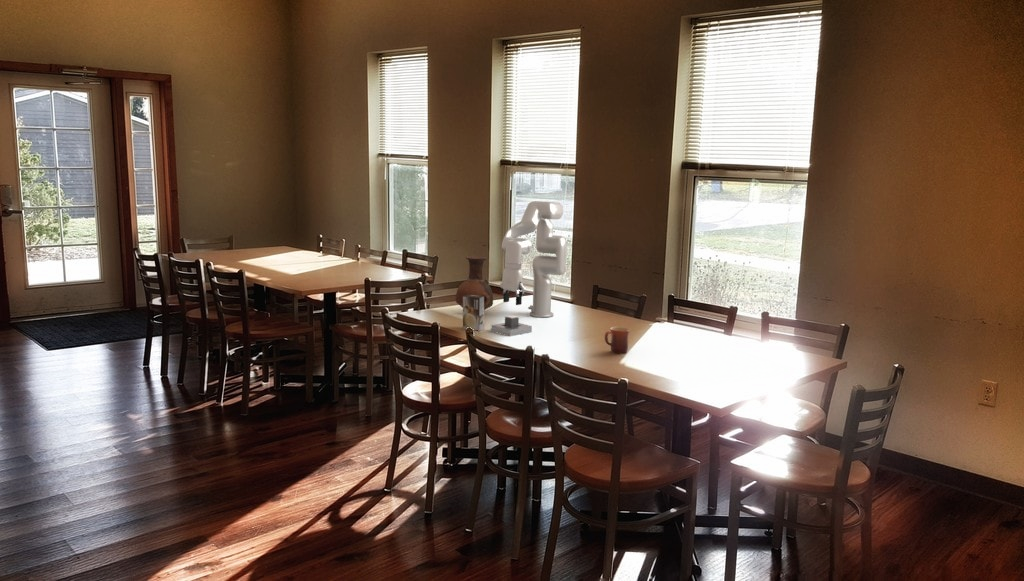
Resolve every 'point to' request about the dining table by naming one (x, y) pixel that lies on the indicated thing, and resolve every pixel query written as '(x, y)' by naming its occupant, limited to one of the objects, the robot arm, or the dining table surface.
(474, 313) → the coffee box
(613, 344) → the mug
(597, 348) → the dining table surface
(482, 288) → the vase
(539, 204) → the robot arm
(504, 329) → the socket plate
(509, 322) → the plug
